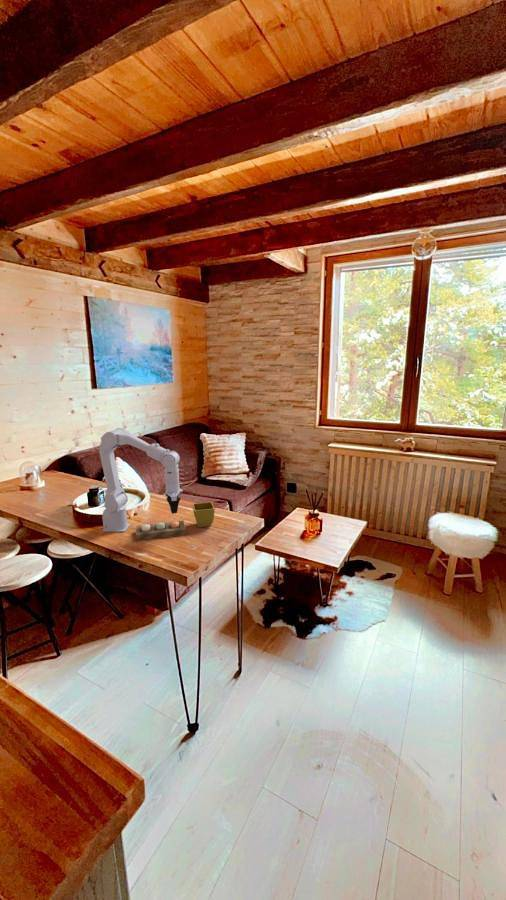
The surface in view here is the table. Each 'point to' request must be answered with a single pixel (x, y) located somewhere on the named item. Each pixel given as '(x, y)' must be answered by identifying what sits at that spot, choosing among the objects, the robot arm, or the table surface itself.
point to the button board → (160, 531)
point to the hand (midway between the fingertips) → (174, 511)
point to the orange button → (174, 524)
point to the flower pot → (204, 513)
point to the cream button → (145, 527)
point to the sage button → (160, 526)
